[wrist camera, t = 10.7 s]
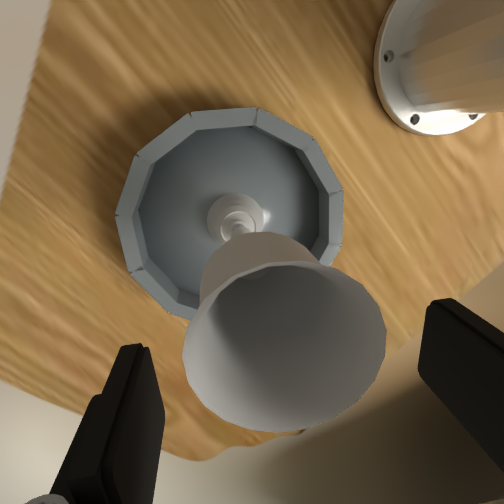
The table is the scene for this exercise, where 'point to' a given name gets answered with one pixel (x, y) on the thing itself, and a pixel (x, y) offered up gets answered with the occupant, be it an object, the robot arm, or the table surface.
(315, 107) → the table surface
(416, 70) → the robot arm
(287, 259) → the chalice
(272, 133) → the bowl
